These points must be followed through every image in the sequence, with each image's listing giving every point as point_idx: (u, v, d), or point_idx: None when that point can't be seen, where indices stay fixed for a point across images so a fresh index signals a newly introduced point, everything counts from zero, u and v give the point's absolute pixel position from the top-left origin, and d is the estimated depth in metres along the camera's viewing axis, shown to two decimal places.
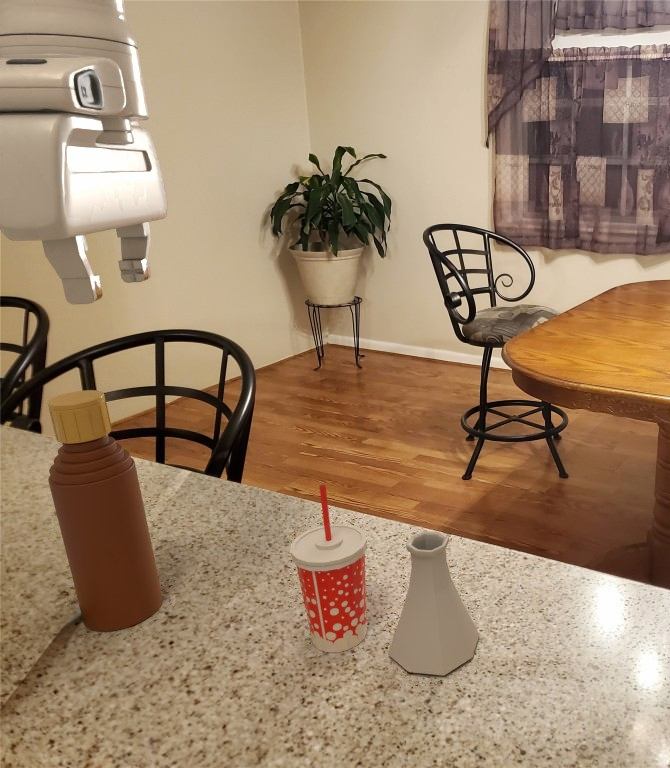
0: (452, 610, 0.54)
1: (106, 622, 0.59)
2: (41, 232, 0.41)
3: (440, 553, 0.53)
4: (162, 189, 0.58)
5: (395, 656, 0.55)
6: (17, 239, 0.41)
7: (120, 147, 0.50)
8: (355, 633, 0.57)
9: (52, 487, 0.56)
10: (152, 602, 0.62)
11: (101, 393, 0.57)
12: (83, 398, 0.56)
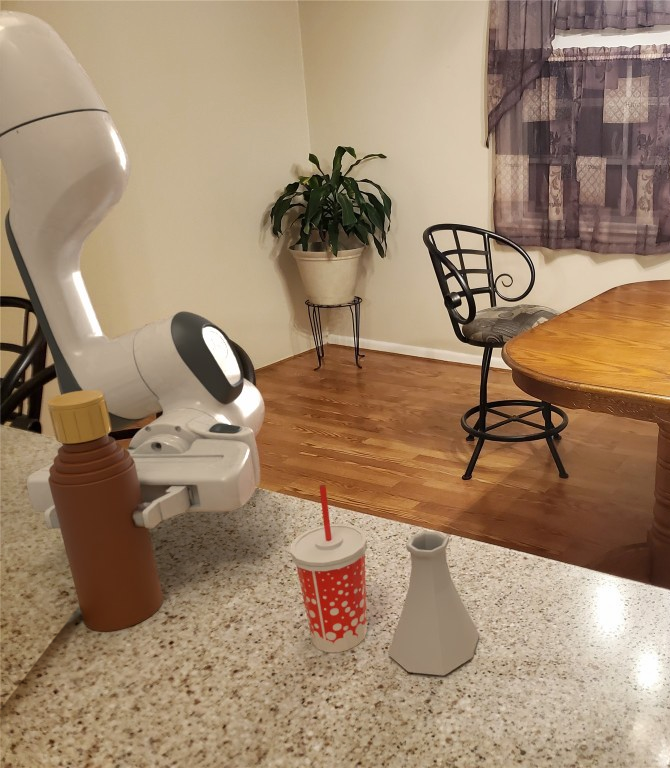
0: (452, 610, 0.54)
1: (106, 622, 0.59)
2: (235, 499, 0.64)
3: (440, 553, 0.53)
4: None
5: (395, 656, 0.55)
6: (226, 486, 0.63)
7: None
8: (355, 633, 0.57)
9: (52, 487, 0.56)
10: (152, 602, 0.62)
11: (101, 393, 0.57)
12: (83, 398, 0.56)
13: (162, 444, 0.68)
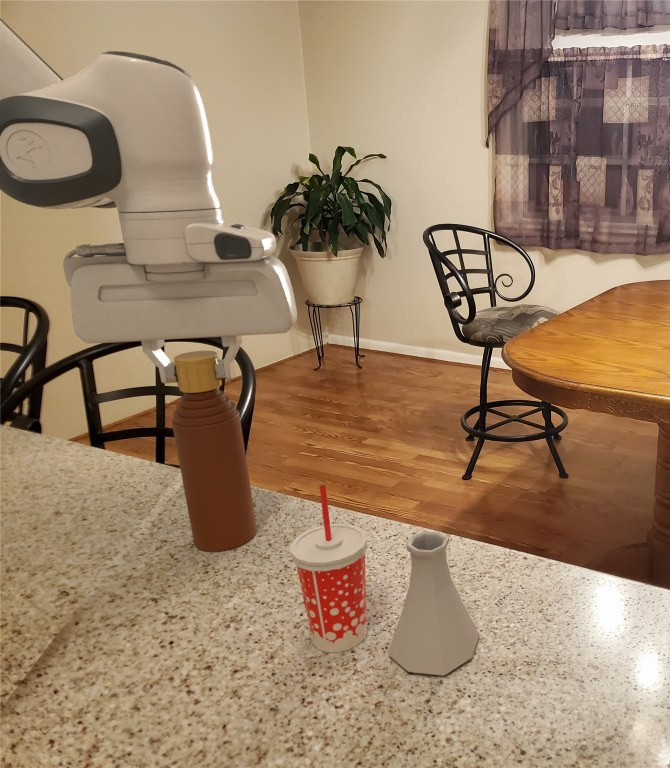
0: (452, 610, 0.54)
1: (215, 543, 0.72)
2: None
3: (440, 553, 0.53)
4: None
5: (395, 656, 0.55)
6: None
7: None
8: (355, 633, 0.57)
9: (177, 429, 0.68)
10: (251, 529, 0.74)
11: (215, 352, 0.70)
12: (202, 356, 0.68)
13: None
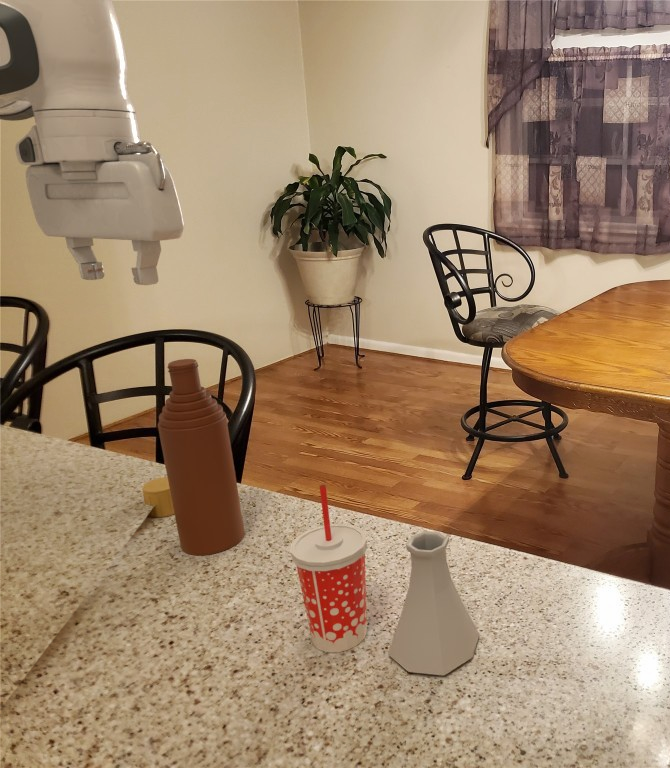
0: (452, 610, 0.54)
1: (203, 547, 0.71)
2: None
3: (440, 553, 0.53)
4: (142, 215, 0.65)
5: (395, 656, 0.55)
6: None
7: (90, 181, 0.68)
8: (355, 633, 0.57)
9: (163, 431, 0.68)
10: (238, 532, 0.73)
11: (143, 487, 0.80)
12: (156, 482, 0.81)
13: None
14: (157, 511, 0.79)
